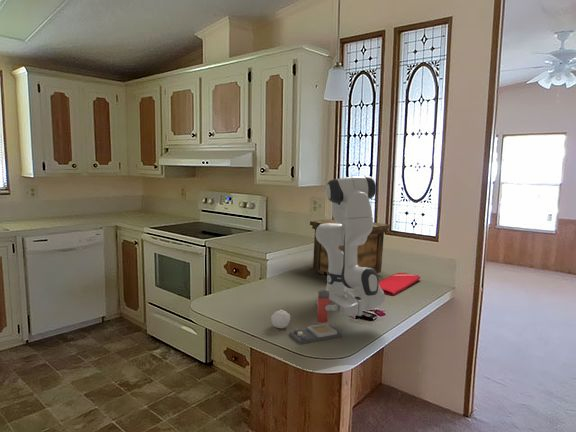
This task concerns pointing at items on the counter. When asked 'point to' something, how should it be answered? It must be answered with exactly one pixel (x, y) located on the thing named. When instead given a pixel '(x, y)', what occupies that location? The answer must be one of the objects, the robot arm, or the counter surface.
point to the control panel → (314, 333)
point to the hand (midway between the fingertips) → (321, 305)
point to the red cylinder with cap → (322, 306)
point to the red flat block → (397, 283)
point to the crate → (366, 253)
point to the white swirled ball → (280, 319)
